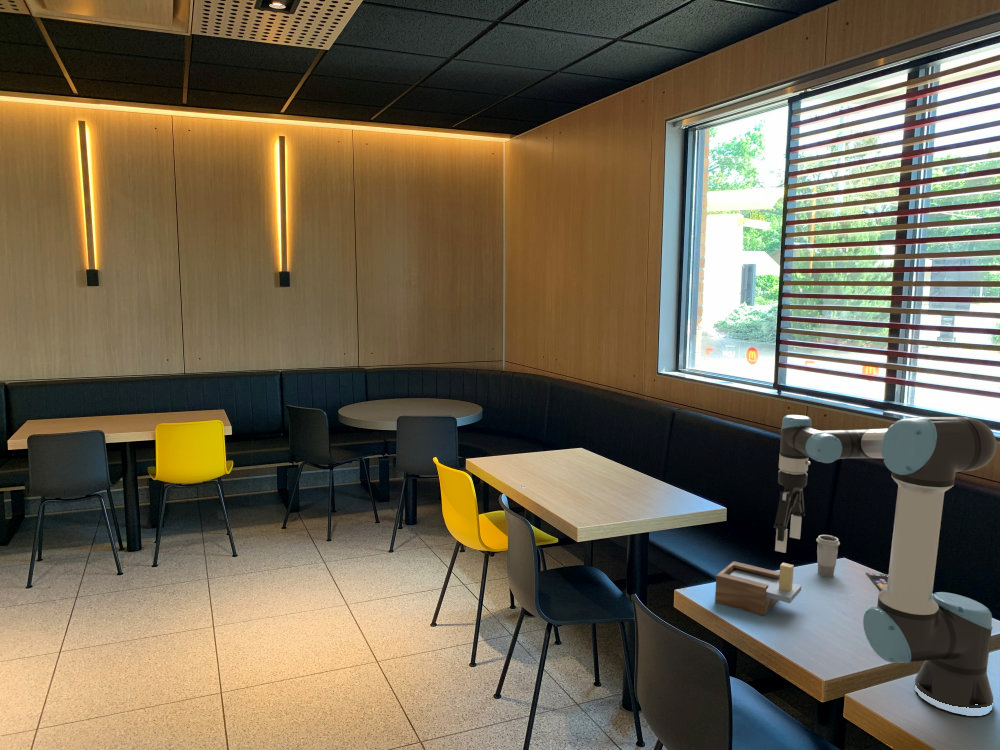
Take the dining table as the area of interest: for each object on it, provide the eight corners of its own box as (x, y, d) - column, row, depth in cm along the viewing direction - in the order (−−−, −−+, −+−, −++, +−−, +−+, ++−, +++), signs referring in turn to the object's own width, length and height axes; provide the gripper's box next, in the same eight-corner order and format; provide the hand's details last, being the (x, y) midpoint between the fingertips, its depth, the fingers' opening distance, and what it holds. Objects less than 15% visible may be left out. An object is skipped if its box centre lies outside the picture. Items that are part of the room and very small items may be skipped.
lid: (789, 603, 204) (791, 573, 203) (722, 585, 216) (723, 557, 214) (801, 590, 213) (803, 561, 212) (735, 573, 224) (737, 546, 223)
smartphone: (892, 576, 238) (892, 573, 238) (909, 596, 223) (910, 592, 223) (865, 574, 239) (865, 571, 239) (881, 593, 224) (881, 590, 224)
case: (763, 615, 207) (765, 587, 206) (714, 602, 216) (716, 575, 215) (778, 599, 219) (780, 572, 217) (732, 586, 227) (733, 561, 226)
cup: (842, 576, 237) (845, 539, 235) (828, 580, 233) (831, 543, 232) (822, 568, 243) (825, 533, 241) (809, 572, 239) (811, 536, 238)
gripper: (794, 483, 194) (788, 560, 197) (819, 464, 213) (813, 535, 216) (765, 477, 198) (759, 554, 201) (792, 460, 218) (787, 529, 221)
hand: (787, 544), depth 209 cm, fingers open, 13 cm apart
